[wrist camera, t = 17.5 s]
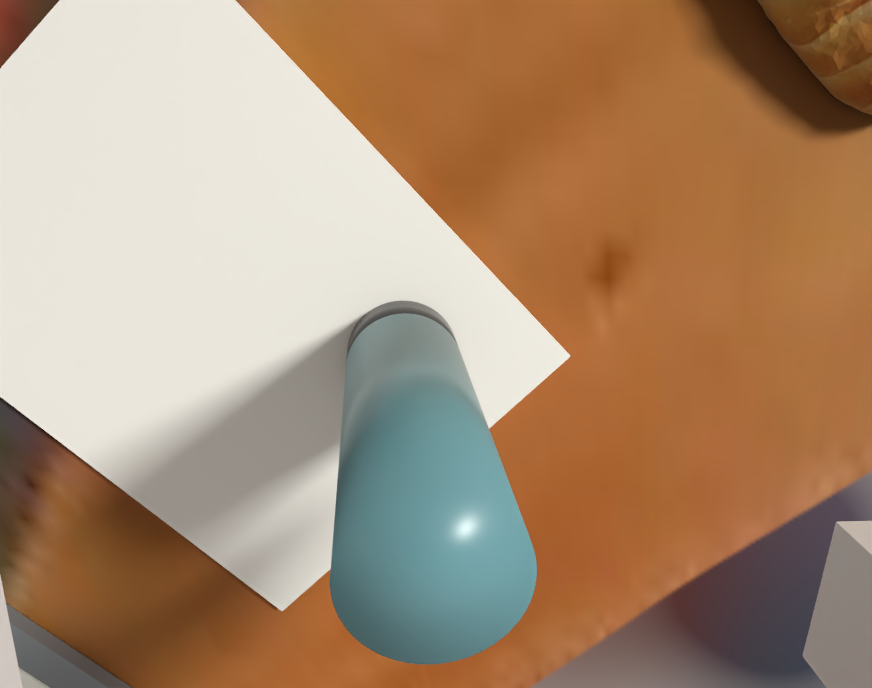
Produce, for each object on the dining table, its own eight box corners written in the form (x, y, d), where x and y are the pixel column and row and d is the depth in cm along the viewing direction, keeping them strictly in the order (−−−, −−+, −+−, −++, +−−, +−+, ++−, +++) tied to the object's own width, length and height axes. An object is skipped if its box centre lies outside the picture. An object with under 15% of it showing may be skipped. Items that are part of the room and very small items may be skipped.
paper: (-165, 264, 22) (-172, 266, 22) (146, -94, 20) (143, -97, 19) (282, 606, 27) (281, 611, 27) (568, 353, 25) (570, 356, 25)
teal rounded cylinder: (324, 353, 24) (285, 585, 12) (402, 277, 23) (438, 446, 12) (401, 424, 25) (431, 697, 13) (479, 353, 24) (578, 574, 13)
